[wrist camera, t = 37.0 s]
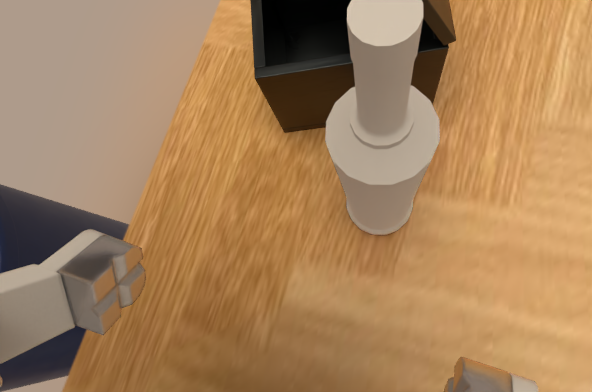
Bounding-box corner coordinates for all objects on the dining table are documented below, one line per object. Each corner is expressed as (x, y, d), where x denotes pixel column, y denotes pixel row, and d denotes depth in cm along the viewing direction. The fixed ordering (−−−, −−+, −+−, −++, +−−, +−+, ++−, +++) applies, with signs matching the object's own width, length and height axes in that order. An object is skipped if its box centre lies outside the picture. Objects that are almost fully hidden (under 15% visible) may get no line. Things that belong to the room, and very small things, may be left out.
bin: (284, 132, 39) (254, 78, 29) (277, 28, 41) (247, -52, 32) (430, 112, 37) (449, 47, 27) (413, 4, 39) (424, -89, 30)
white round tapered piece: (388, 164, 36) (411, -101, 12) (424, 215, 35) (530, 28, 11) (335, 196, 36) (257, -2, 13) (369, 249, 35) (353, 138, 11)
